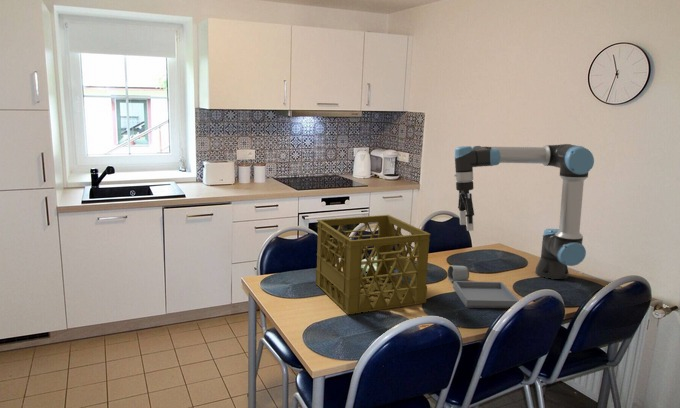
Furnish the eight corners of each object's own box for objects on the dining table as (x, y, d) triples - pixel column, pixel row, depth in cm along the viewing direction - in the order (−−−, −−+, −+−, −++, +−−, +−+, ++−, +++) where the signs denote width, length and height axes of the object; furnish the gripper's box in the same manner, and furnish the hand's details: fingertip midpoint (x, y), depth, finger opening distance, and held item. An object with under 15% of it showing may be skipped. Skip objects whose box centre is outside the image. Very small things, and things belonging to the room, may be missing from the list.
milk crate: (315, 284, 228) (316, 219, 222) (385, 276, 242) (388, 214, 236) (347, 316, 196) (350, 241, 190) (425, 304, 210) (430, 234, 204)
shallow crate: (501, 288, 230) (501, 281, 229) (519, 308, 209) (520, 301, 208) (453, 287, 229) (453, 281, 229) (466, 307, 208) (466, 300, 207)
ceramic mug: (469, 283, 235) (470, 267, 234) (453, 284, 234) (454, 268, 232) (459, 276, 246) (460, 260, 244) (443, 276, 244) (444, 261, 242)
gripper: (450, 178, 240) (452, 223, 243) (462, 185, 215) (464, 233, 218) (466, 177, 240) (468, 221, 243) (480, 183, 215) (482, 232, 218)
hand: (466, 227), depth 231 cm, fingers open, 13 cm apart
